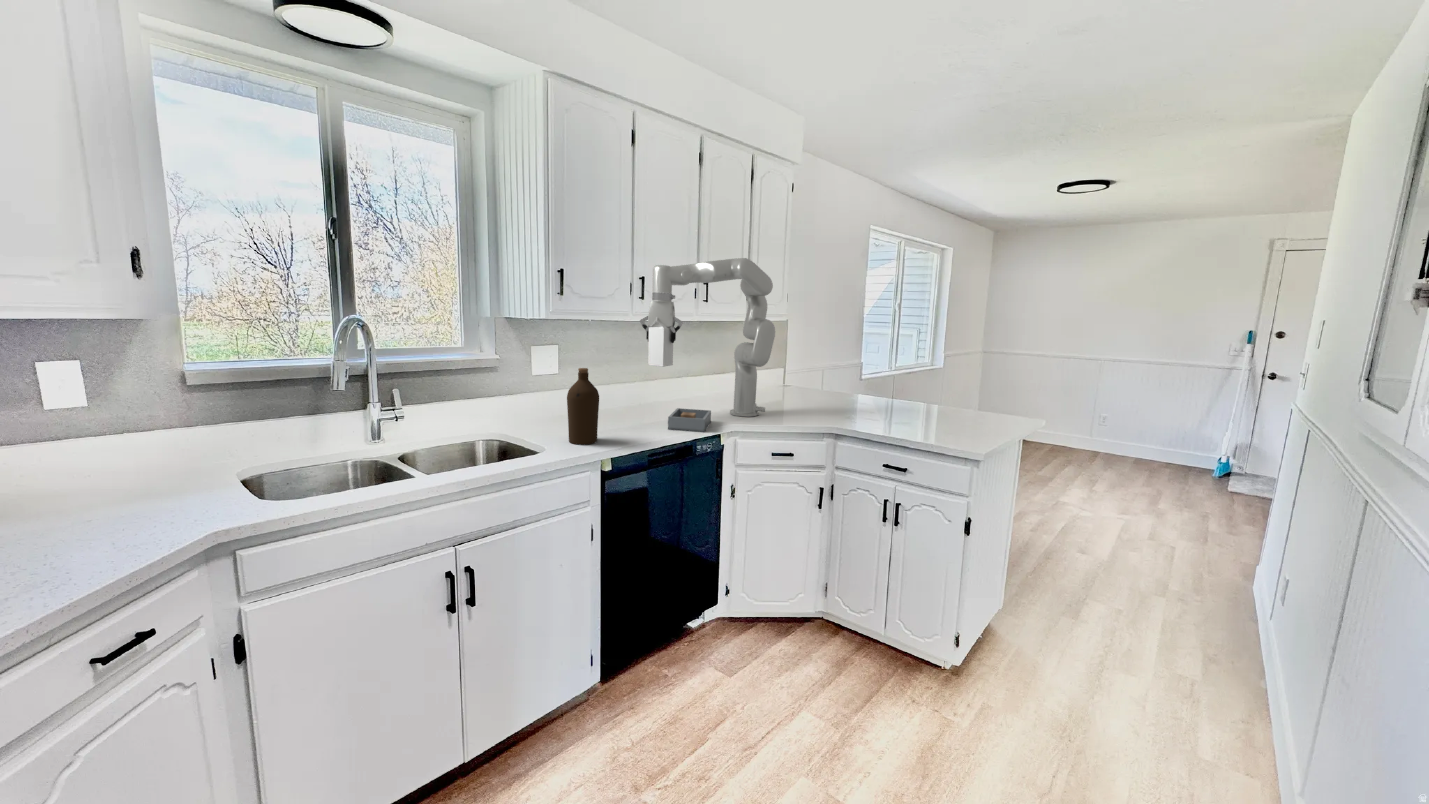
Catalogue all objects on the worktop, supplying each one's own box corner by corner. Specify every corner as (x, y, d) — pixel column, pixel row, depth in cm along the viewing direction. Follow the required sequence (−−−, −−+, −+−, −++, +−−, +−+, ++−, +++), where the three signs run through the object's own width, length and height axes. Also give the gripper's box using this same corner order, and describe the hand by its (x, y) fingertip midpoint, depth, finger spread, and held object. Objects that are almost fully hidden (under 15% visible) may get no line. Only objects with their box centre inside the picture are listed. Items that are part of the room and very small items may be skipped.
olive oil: (602, 444, 194) (602, 370, 189) (569, 446, 189) (569, 370, 185) (595, 436, 203) (595, 366, 199) (564, 438, 199) (564, 366, 195)
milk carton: (648, 365, 228) (648, 317, 225) (657, 363, 234) (658, 316, 231) (663, 367, 225) (664, 318, 221) (672, 365, 231) (673, 317, 228)
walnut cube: (695, 425, 225) (695, 412, 224) (693, 428, 220) (693, 415, 219) (682, 424, 225) (683, 412, 224) (680, 427, 220) (680, 414, 220)
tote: (710, 422, 235) (711, 410, 234) (704, 432, 218) (704, 419, 217) (676, 420, 237) (677, 408, 236) (667, 429, 219) (668, 416, 218)
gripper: (685, 298, 227) (684, 342, 231) (642, 296, 230) (641, 340, 233) (682, 298, 220) (680, 343, 223) (637, 296, 222) (637, 341, 225)
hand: (660, 342), depth 228 cm, fingers closed on milk carton, 9 cm apart
